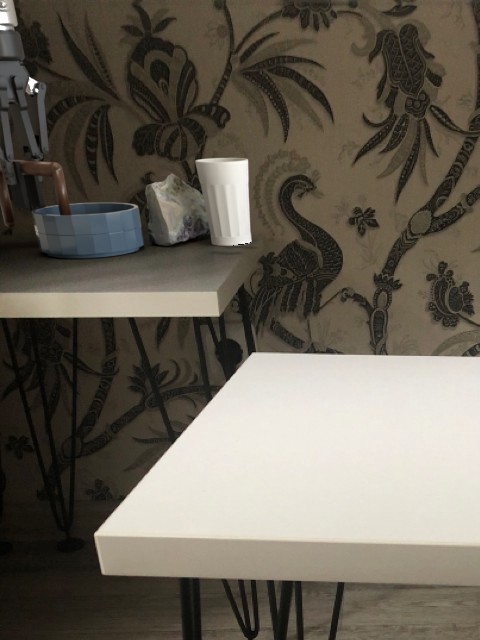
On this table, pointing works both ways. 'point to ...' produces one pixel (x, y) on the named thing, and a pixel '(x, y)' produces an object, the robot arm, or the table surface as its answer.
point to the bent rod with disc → (38, 169)
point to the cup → (226, 199)
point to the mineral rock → (175, 211)
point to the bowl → (89, 230)
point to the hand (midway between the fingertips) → (29, 206)
